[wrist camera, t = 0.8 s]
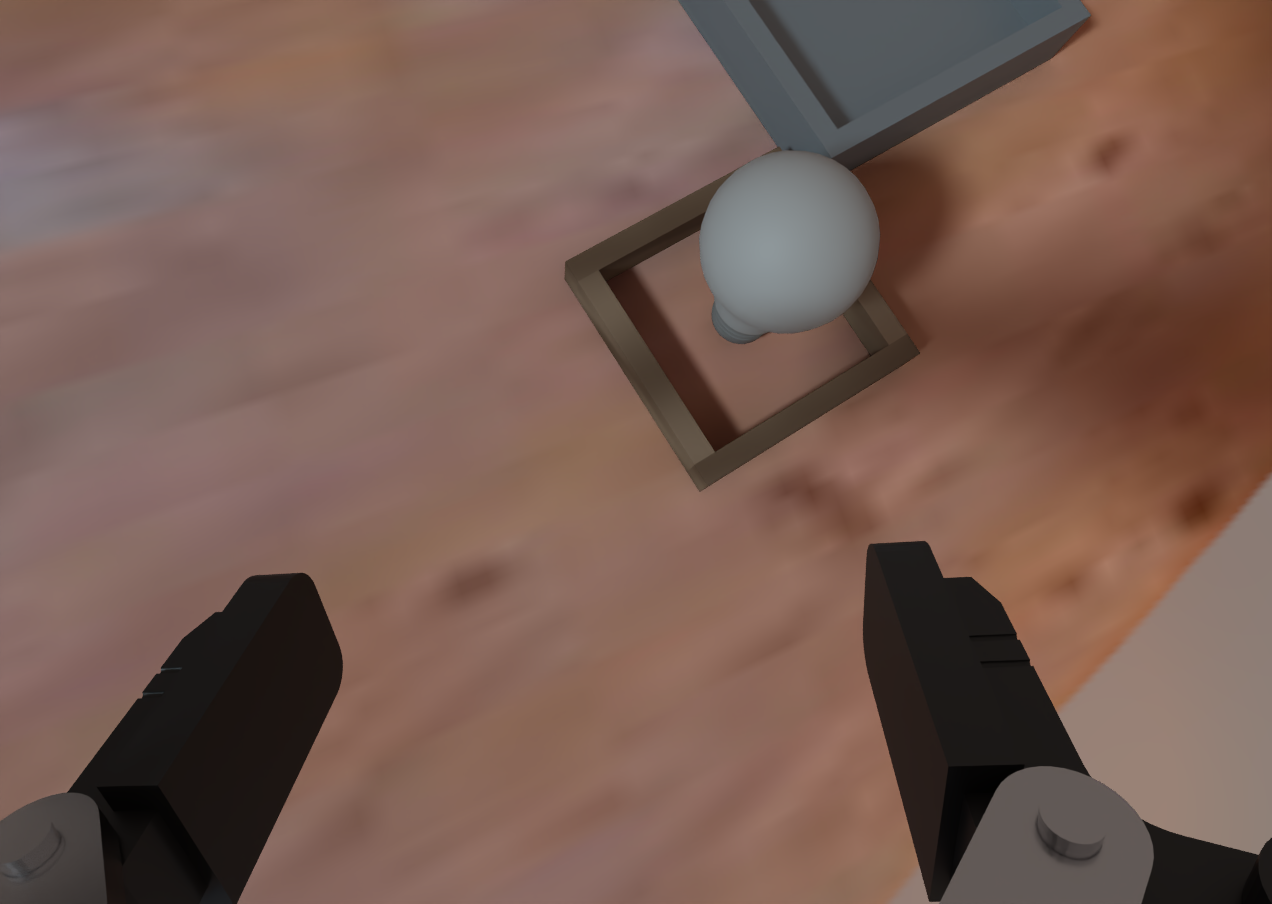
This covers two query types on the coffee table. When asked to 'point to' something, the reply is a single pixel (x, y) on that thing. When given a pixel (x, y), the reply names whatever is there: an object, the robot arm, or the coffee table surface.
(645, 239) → the square wooden frame
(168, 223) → the coffee table surface
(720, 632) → the coffee table surface
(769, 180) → the lightbulb
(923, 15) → the tray
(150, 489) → the coffee table surface
